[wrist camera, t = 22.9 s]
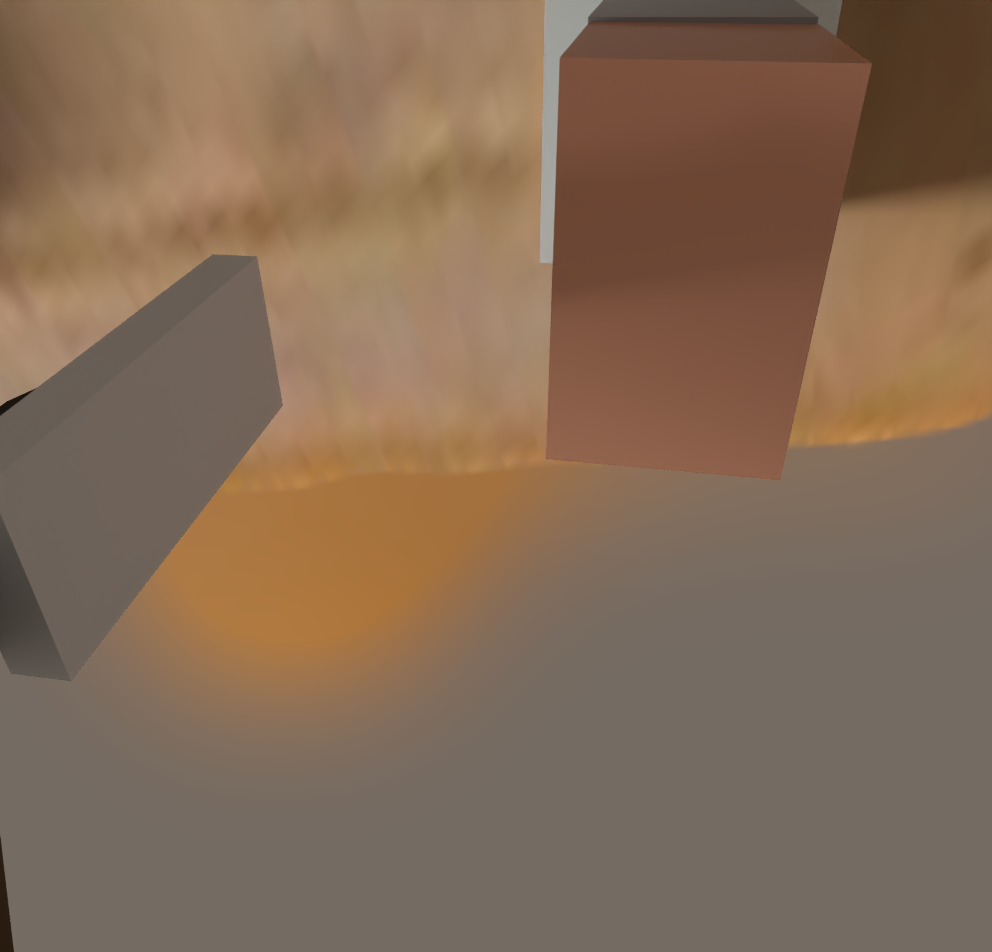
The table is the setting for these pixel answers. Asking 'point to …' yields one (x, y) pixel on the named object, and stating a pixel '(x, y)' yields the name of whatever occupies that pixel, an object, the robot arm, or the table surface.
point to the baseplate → (563, 23)
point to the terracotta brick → (693, 238)
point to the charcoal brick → (703, 11)
